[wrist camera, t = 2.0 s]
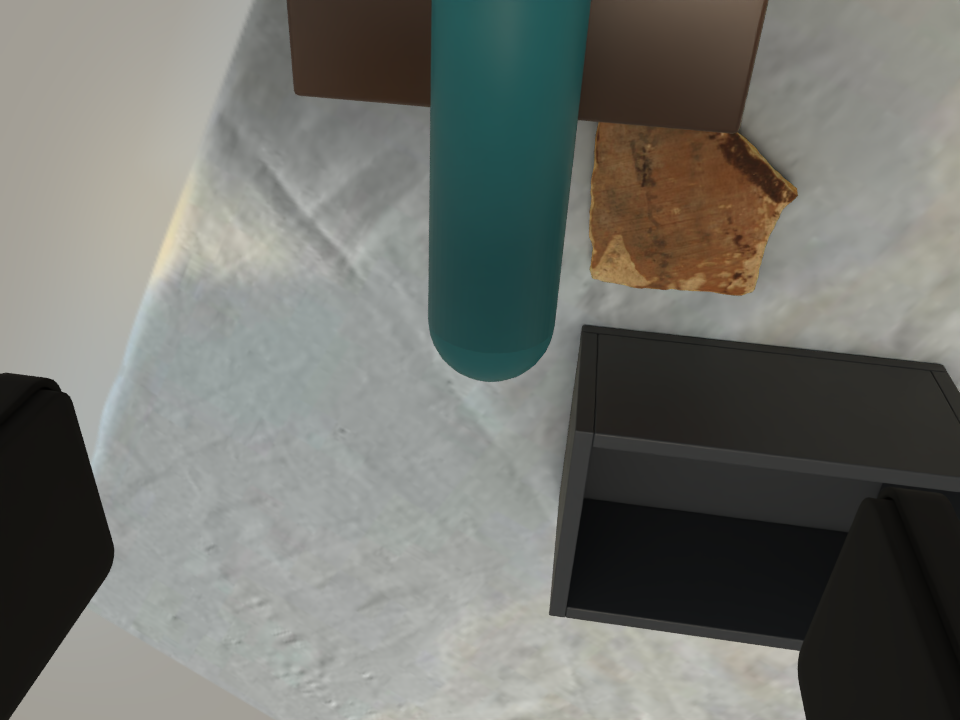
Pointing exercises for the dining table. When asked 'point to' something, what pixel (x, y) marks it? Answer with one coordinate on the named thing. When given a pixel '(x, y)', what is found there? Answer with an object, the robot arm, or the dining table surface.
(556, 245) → the rod
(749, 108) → the dining table surface
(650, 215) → the shard
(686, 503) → the bin
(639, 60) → the stand
